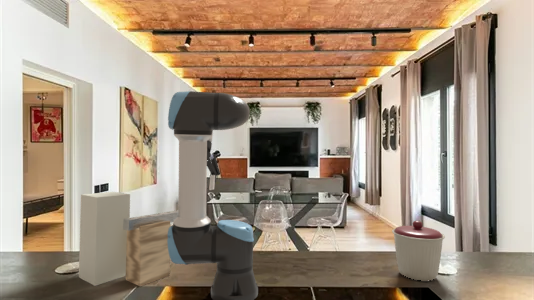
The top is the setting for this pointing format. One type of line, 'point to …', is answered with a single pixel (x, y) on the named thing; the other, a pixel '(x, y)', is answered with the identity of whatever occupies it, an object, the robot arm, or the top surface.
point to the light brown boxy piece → (147, 253)
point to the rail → (148, 220)
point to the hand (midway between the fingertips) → (199, 187)
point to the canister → (418, 251)
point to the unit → (103, 236)
